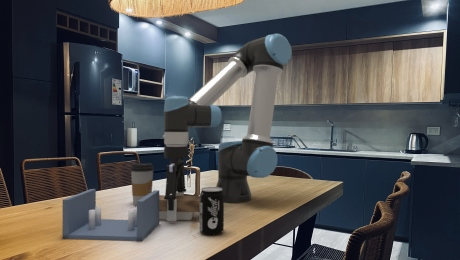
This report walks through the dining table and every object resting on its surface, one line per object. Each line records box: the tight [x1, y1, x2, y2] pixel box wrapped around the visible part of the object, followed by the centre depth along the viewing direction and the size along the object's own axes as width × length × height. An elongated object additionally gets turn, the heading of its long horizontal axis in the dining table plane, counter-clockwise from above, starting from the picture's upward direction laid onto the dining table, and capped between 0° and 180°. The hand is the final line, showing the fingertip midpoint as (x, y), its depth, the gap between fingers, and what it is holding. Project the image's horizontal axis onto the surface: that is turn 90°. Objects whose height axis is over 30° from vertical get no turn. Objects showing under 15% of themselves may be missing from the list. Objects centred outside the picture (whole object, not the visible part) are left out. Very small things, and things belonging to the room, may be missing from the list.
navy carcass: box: [61, 188, 160, 242], centre depth 93 cm, size 21×15×10 cm
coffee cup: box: [130, 162, 154, 207], centre depth 125 cm, size 8×8×15 cm
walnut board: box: [159, 194, 200, 213], centre depth 106 cm, size 16×7×4 cm, turn 86°
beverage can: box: [199, 186, 225, 236], centre depth 92 cm, size 7×7×12 cm
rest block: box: [159, 211, 193, 221], centre depth 106 cm, size 10×3×3 cm, turn 86°
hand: (175, 216), depth 106 cm, fingers open, 10 cm apart
